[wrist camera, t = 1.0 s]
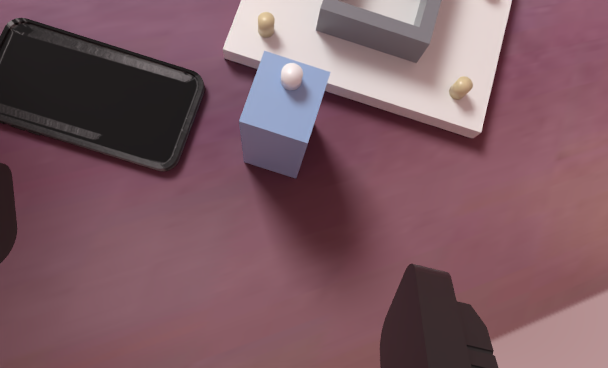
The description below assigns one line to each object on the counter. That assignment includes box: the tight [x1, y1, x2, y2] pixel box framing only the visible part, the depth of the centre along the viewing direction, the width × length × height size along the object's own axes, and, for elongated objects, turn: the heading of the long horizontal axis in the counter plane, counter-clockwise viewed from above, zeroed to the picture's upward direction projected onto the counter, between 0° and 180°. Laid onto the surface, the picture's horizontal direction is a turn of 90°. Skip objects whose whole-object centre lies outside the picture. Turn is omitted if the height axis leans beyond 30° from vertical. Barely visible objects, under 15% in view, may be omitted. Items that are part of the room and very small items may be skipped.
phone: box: [0, 18, 205, 171], centre depth 36 cm, size 8×1×15 cm
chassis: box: [223, 0, 512, 139], centre depth 37 cm, size 20×14×4 cm
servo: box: [239, 51, 330, 179], centre depth 32 cm, size 4×4×10 cm
